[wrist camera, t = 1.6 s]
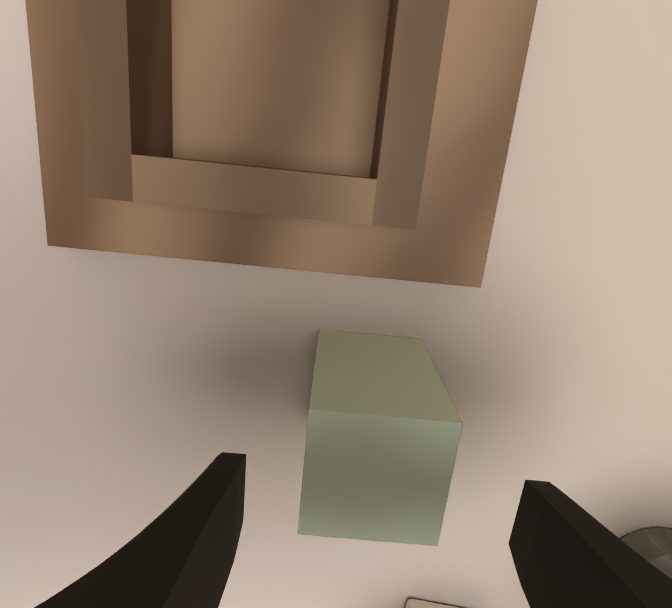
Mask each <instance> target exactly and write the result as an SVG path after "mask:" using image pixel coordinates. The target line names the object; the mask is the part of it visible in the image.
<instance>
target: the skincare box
mask: <svg viewBox="0 0 672 608" xmlns="http://www.w3.org/2000/svg"><path fill="white" fill-rule="evenodd" d="M405 608H459V607H454V606H449V605H443V604H438V603H432V602H428V601H423V600H417V599H409V600H408V601H407V604H406V607H405Z"/></svg>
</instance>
